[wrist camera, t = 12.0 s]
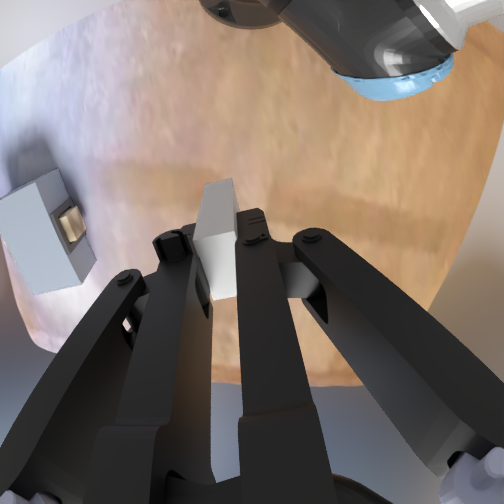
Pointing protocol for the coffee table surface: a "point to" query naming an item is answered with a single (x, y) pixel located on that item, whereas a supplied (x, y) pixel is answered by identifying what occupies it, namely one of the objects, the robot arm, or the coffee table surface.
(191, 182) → the coffee table surface
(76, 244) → the sleeve block
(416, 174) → the coffee table surface
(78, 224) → the peg
